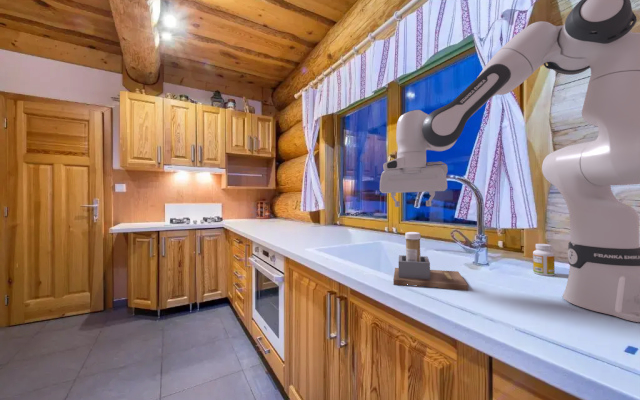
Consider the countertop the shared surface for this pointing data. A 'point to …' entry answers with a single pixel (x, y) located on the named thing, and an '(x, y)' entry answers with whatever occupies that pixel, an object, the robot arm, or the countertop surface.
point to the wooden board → (435, 280)
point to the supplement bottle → (543, 260)
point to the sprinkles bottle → (413, 246)
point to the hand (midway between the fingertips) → (412, 206)
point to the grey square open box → (414, 268)
